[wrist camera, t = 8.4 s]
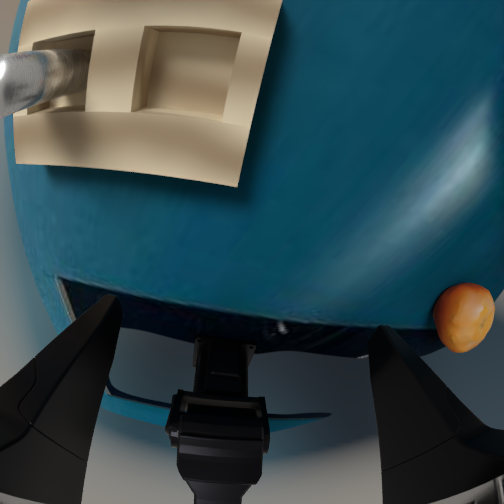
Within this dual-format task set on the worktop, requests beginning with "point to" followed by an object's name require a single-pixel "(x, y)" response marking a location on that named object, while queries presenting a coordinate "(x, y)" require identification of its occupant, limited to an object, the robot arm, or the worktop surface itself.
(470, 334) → the fruit
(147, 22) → the socket block
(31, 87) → the pin
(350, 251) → the worktop surface
